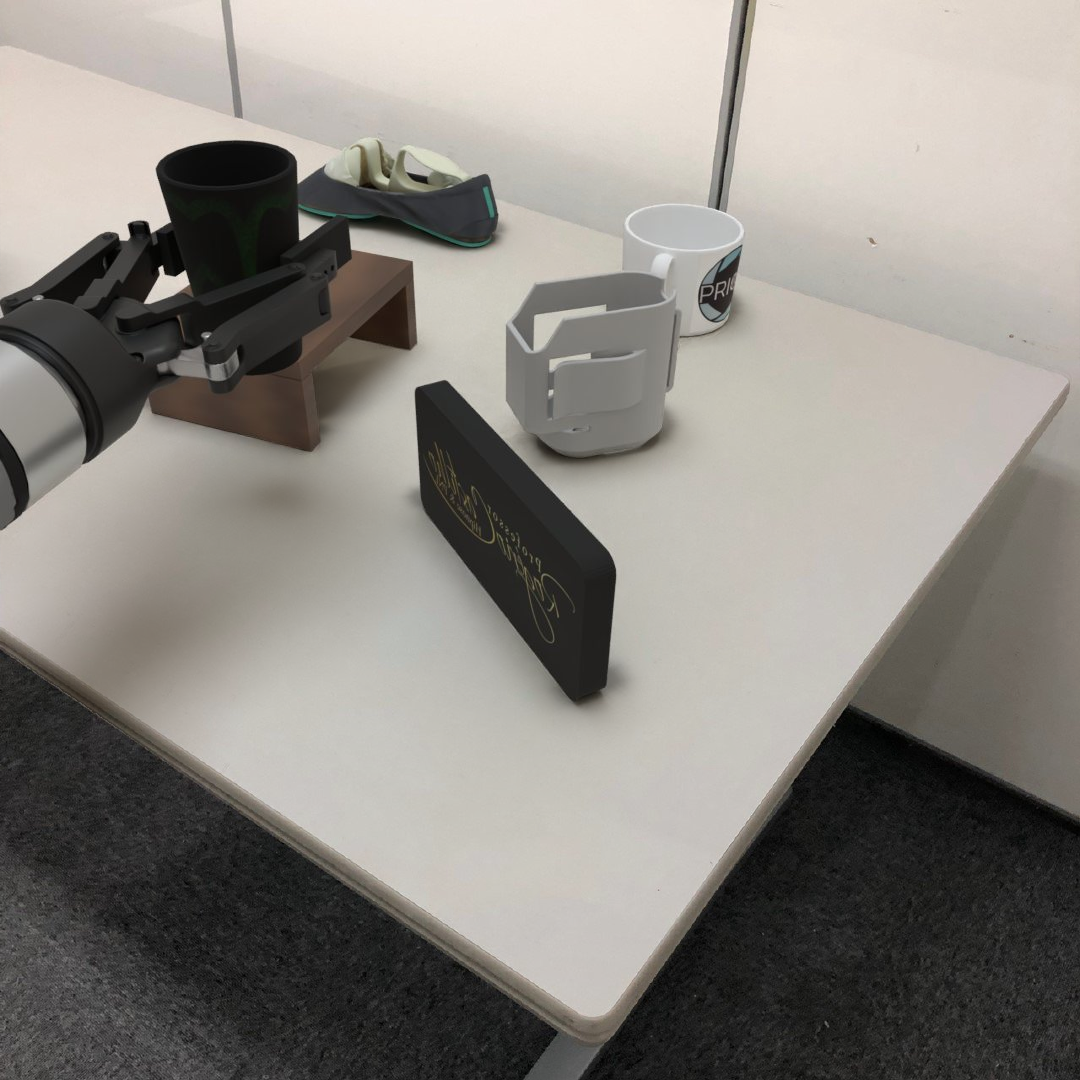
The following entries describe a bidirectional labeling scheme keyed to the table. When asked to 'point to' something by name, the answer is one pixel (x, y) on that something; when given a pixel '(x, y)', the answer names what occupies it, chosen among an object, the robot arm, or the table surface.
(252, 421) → the shelf
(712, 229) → the mug
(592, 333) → the cable organizer
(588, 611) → the nameplate
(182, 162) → the cup
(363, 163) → the ballet flat
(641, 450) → the table surface
